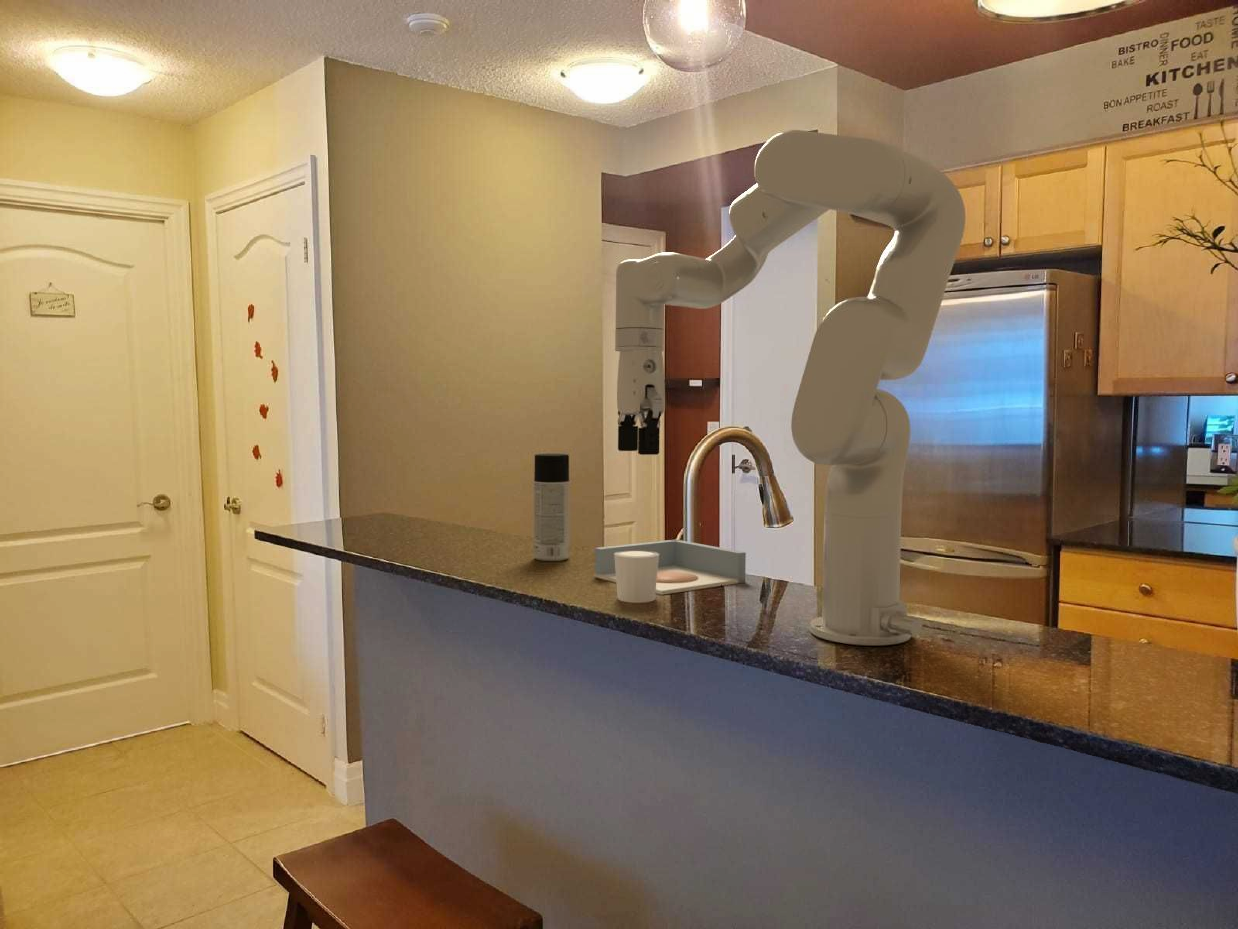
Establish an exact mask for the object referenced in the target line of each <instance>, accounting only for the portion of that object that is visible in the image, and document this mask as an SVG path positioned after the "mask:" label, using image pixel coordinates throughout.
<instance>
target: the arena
mask: <svg viewBox="0 0 1238 929" xmlns="http://www.w3.org/2000/svg"><path fill="white" fill-rule="evenodd" d="M628 550H643V551H652V552H656V553H658V554H659V562H658V572H657V582H656V592H655V594H658V595H662V596H664V595H667V594H669V595H670V594H677V593H682V592H689V591H697V590H701V589H702V590H703V589H710V588H716V587H721V585H722V587H723V586H729V585H734V584H735V585H736V584H742V583H746V563H747V562H746V560H747V559H746V558H747V553H746V551H740V550H735V549H729V548H723V547H718V546H713V545H708V544H703V543H702V544H701V543H697V542H692V541H686V540H681V539H668V540H658V541H649V542H640V543H631V544H630V543H629V544H620V545H619V544H618V545H611V546H600V547H594V577H595V578H597V579H602V580H605V581H608V582H612V583H615V584H617V583H616V571H615V559H614V553H616V552H620V551H628Z"/></svg>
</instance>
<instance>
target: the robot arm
mask: <svg viewBox="0 0 1238 929" xmlns="http://www.w3.org/2000/svg"><path fill="white" fill-rule="evenodd" d="M753 174H754V175H753V176H754V179H755V182H756V184H754V185H753V186H751V187H750V188H748V190H747V191H745V192H744V193H741V195H739V196H738V197H737V198H736V199H734V200H733V201H732V203H731V205H730V206H729V212H728V216H729V223H730V226H731V227H732V230H733V232H734V236H733V237H732V239H731V240H730V241H729V242H728V243H727V244H725V245H724V246H723V247H722V248H720V249H719V250H718V251H716V252H715V253H714V254H712V255H710V256H709V257H707V258H703V257H698V256H693V255H689V254H681V253H677V252H667V251H666V252H665V251H664V252H661V253H656V254H654V255H651V256H649V257H646V258H643V259H642V258H640V259H639V258H638V259H635V258H633V259H626V260H623V261H621V262H620V263H619V264H618V265H617V267H616V271H615V272H616V274H615V331H614V332H615V335H614V337H615V338H614V339H615V341H614V343H615V345H614V347H615V348H614V350H615V352H619V355H618V356H619V358H618V367H617V368H618V370H617V383H616V402H617V403H616V404H617V405H616V406H617V415H618V419H617V425H618V426H617V427H618V428H617V450H618V451H619V452H637V453H638V455H642V456H643V455H645V456H646V455H650V456H655V455H659V454H660V428H661V417H662V415H663V414H664V413H665V410H666V389H665V388H666V387H665V366H664V364H665V363H664V358H663V352H664V347H665V343H664V341H665V306H673V307H674V306H675V307H685V308H691V309H692V308H693V309H699V310H704V309H705V310H706V309H710V308H713V307H716V306H718V305H720V304H722V303H724V302H725V301H727V300H728V299H730V298H732V297H733V296H734V295H736V294H738V293H739V292H740V291H741V290H743V289H744V288H746V287H747V286H749V285H750V284H751V283H752V281H753V280H754V279H755V278H756V277H757V276H758V275H759V272H760V271H761V270H762V268H763V266H764V265H765V262H766V260H767V258H768V256H769V253H770V252H771V251H773V250H774V249H775V248H777V247H778V246H779V245H781V244H783V242H785V241H787V240H788V239H789V238H791V237H793V236H794V235H795V234H796V233H798V232H800V231H801V230H802V229H804V228H805V227H807V226H808V225H810V224H811V223H813V222H814V221H815V220H817V219H818V218H819V217H821V216H822V215H824V214H825V213H826V212H828V211H829V210H830V211H834V212H835V211H836V212H841V213H845V214H850V215H852V216H857V217H859V218H862V219H863V218H864V219H866V220H870V221H872V222H876V223H880V224H883V225H886V226H889V227H891V228H892V230H893V231H894V235H893V237H892V239H891V241H890V242H889V243H888V245H887V246H886V248H885V249H884V250H883V252H882V254H881V256H880V258H879V262H878V264H877V266H876V269H875V272H874V273H875V274H874V277H873V280H872V284H871V286H870V288H869V289H870V290H869V293H868V294H867V296H857V297H856V296H855V297H850V298H847V299H844V300H843V301H841V302H838V303H837V304H836V305H835V306H833V307H832V308H831V309H830V310H829V311H828V312H827V313H826V314H825V316H823V318H822V320H821V322H820V323H819V325H818V327H817V329H816V331H815V334H814V337H813V340H812V343H811V347H810V349H809V354H808V356H807V361H806V364H805V367H804V370H803V373H802V376H801V380H800V384H799V386H798V387H799V388H798V391H797V394H796V398H795V401H794V404H793V408H792V409H793V410H792V414H791V420H790V421H791V422H790V423H791V424H790V426H791V427H790V428H791V435H792V440H793V442H794V445H795V447H796V449H797V450H798V452H799V453H800V454H801V455H802V456H803V457H805V458H806V459H807V460H809V461H810V462H813V463H815V464H818V465H821V466H830V469H829V473H828V477H827V481H826V485H825V493H824V513H823V515H824V516H823V552H822V553H823V554H822V555H823V559H822V560H823V561H822V563H823V564H822V567H823V568H822V598H821V599H822V600H821V601H822V604H821V605H822V607H821V612H822V613H821V616H818V617H816V618H813V619H812V620H810V622H809V632H810V633H811V634H813V635H814V636H815V637H818V638H820V639H822V640H825V641H830V642H835V643H841V644H847V645H853V646H854V645H855V646H873V647H874V646H890V645H891V646H892V645H898V644H901V643H905V642H908V641H909V640H911V638H912V636H917V635H919V633H920V631H921V628H922V627H923V626H924V618H922V617H919V616H914V615H908V613H907V603H906V602H901V601H900V586H901V585H900V584H901V583H900V582H901V581H900V580H901V579H900V578H901V575H900V573H901V549H902V548H901V545H902V543H901V542H902V538H901V537H902V514H903V510H902V509H903V487H904V477H905V476H904V475H905V469H906V464H907V463H906V462H907V457H908V452H909V447H910V441H911V420H910V417H909V413H908V412H907V410H906V408H905V406H904V404H903V403H902V402H901V401H900V399H899V398H897V396H895V395H893V394H892V393H891V392H888V391H886V390H883V389H880V388H878V386H879V383H880V381H881V380H882V381H886V380H887V381H888V380H889V381H890V380H891V381H892V380H900V379H903V378H906V377H908V376H910V375H911V374H913V373H914V372H916V370H917V369H918V368H919V367H920V365H922V363H923V360H924V357H925V355H926V352H927V349H928V347H929V343H930V340H931V337H932V332H933V331H934V326H935V324H936V321H937V317H938V314H939V312H940V308H941V305H942V302H943V299H944V296H945V292H946V288H947V285H948V282H949V279H950V275H951V272H952V270H953V266H954V264H955V261H956V259H957V255H958V252H959V250H960V247H961V245H962V241H963V239H964V238H963V237H964V234H965V229H966V228H965V227H966V210H965V209H966V208H965V207H966V206H965V204H964V203H965V202H964V200H963V197H962V195H961V193H960V191H959V189H958V187H957V186H956V185H955V184H954V182H953V181H952V180H951V179H950V178H949V177H948V176H947V175H946V174H945V173H944V172H942V171H941V170H940V169H938V168H937V167H936V166H934V165H932V164H931V163H929V162H928V161H926V160H924V159H921V158H920V157H917V156H916V155H914V154H911V153H909V152H906V151H903V150H901V149H899V148H897V147H894V146H892V145H890V144H887V143H885V142H882V141H879V140H876V139H871V138H867V137H866V138H865V137H859V136H850V135H840V134H831V133H824V132H816V131H809V130H801V129H790V130H785V131H781V132H779V133H777V134H774V135H773V136H772V137H771V138H770V139H768V140H767V141H766V142H765V143H764V144H763V146H762V147H761V148H760V149H759V151H758V153H757V156H756V158H755V161H754V169H753ZM638 420H639V424H640V427H639V425H637V422H638Z"/></svg>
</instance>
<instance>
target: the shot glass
mask: <svg viewBox="0 0 1238 929" xmlns="http://www.w3.org/2000/svg"><path fill="white" fill-rule="evenodd" d="M614 559H615V571H616V583H615V584H616V592H617V593H616V595H617V600H618V601H620V602H624V603H632V604H633V603H634V604H637V603H638V604H641V603H642V604H643V603H649V602H653V601H655V600H656V593H655V592H656V582H657V572H658V562H659V554H658V553H656V552H652V551H643V550H628V551H620V552H616V553H614Z"/></svg>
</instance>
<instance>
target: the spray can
mask: <svg viewBox="0 0 1238 929" xmlns="http://www.w3.org/2000/svg"><path fill="white" fill-rule="evenodd" d="M533 478H534V480H533V482H534V483H533V484H534V485H533V487H534V488H533V492H534V494H533V495H534V497H533V498H534V499H533V500H534V502H533V508H534V510H533V511H534V514H533V517H534V518H533V520H534V521H533V523H534V527H533V528H534V529H533V531H534V534H533V535H534V538H533V540H534V543H533V544H534V545H533V548H534V549H533V551H534V552H533V554H534V555H533V556H534V559H535V560H536V561H541V562H560V561H561V562H563V561H565V560H568V559H569V556H570V456H569V454H567V453H537V454H535V455H534V477H533Z"/></svg>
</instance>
